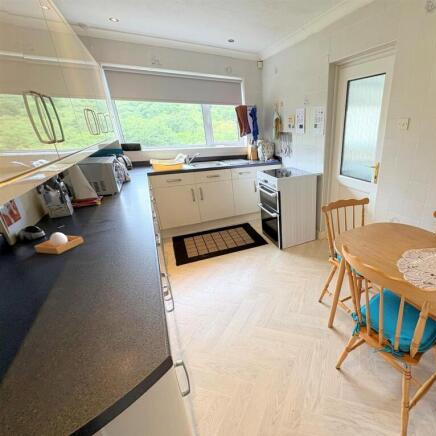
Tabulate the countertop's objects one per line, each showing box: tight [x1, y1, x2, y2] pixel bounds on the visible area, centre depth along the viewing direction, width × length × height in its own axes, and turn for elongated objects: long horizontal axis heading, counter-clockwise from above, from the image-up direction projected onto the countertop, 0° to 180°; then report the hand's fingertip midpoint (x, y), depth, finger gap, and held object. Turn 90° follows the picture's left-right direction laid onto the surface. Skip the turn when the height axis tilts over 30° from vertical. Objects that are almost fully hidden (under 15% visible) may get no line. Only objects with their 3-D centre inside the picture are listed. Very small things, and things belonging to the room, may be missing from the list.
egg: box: [49, 231, 68, 247], centre depth 113 cm, size 6×6×8 cm
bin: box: [34, 235, 84, 255], centre depth 114 cm, size 12×12×4 cm
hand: (57, 203), depth 110 cm, fingers open, 8 cm apart
